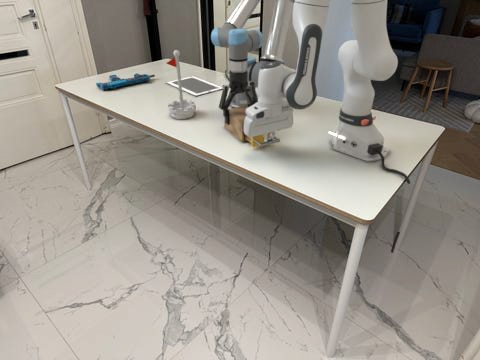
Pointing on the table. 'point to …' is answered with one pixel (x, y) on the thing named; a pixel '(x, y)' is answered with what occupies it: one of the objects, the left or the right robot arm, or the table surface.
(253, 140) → the drawer
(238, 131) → the wooden drawer cabinet
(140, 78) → the submachine gun
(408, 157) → the table surface
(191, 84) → the tablet
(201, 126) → the table surface
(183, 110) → the flag stand
